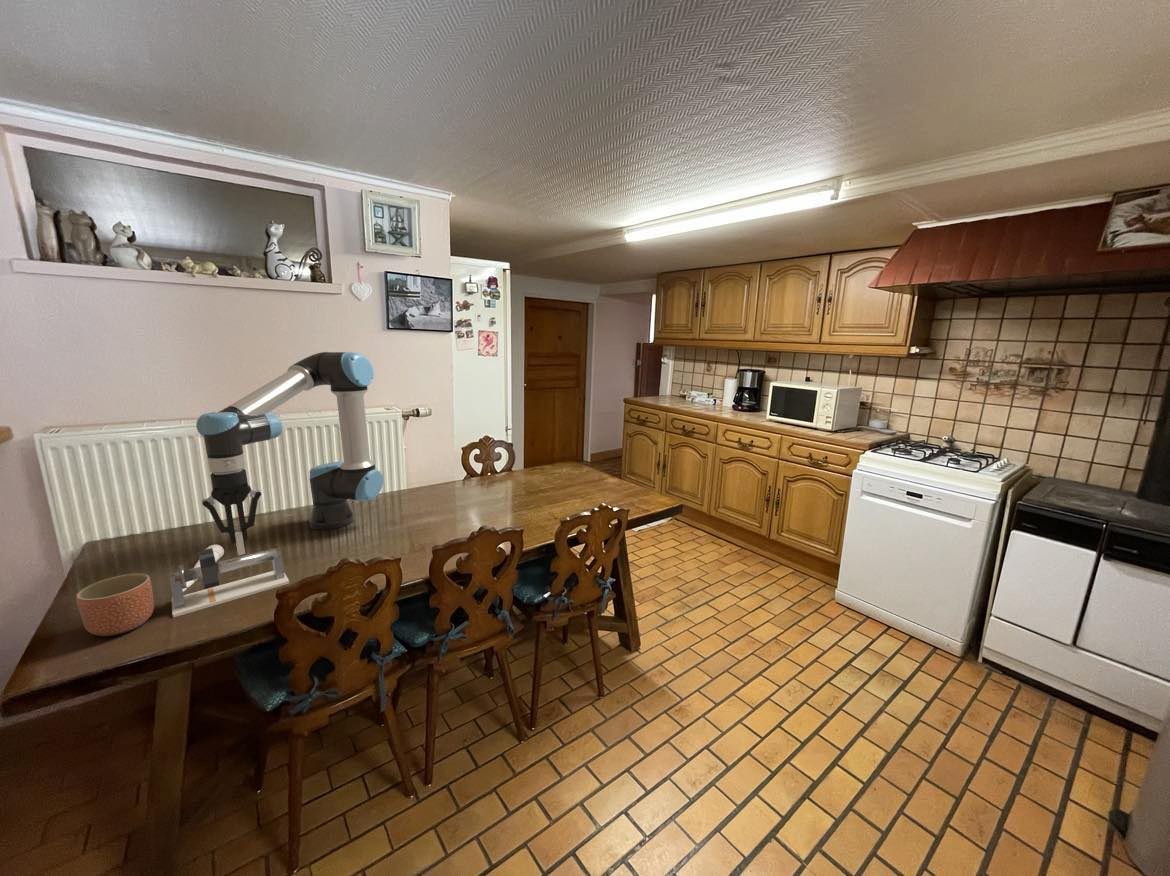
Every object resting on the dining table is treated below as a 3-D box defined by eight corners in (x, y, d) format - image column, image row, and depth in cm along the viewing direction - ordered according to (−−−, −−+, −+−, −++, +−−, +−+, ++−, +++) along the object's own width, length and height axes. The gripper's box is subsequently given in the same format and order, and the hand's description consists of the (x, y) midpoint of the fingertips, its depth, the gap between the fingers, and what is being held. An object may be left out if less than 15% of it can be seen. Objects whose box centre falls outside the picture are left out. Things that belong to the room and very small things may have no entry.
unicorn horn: (163, 597, 124) (160, 580, 123) (208, 558, 146) (206, 544, 145) (184, 594, 125) (181, 578, 124) (225, 556, 148) (223, 543, 147)
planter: (73, 636, 107) (63, 593, 105) (139, 608, 118) (131, 569, 116) (103, 648, 102) (93, 604, 100) (169, 618, 114) (161, 578, 112)
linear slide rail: (174, 603, 120) (167, 565, 118) (281, 573, 136) (277, 539, 134) (175, 613, 116) (167, 573, 114) (285, 581, 132) (281, 545, 130)
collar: (202, 579, 124) (197, 551, 122) (216, 575, 126) (212, 548, 124) (204, 589, 119) (199, 560, 117) (219, 585, 121) (214, 556, 119)
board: (172, 601, 121) (171, 598, 121) (282, 570, 138) (282, 568, 138) (173, 617, 114) (172, 614, 114) (289, 583, 131) (289, 580, 131)
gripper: (197, 478, 114) (212, 565, 119) (259, 469, 123) (271, 550, 128) (195, 472, 120) (210, 555, 124) (255, 463, 128) (267, 541, 133)
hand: (241, 552), depth 126 cm, fingers closed
